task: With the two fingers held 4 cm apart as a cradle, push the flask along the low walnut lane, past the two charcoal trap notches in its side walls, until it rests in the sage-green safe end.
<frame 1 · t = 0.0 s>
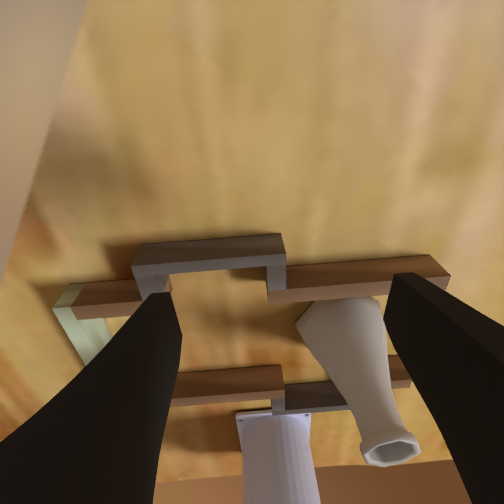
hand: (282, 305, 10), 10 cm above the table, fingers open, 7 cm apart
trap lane: (268, 328, 25), on the table
flask: (338, 319, 25), on the table
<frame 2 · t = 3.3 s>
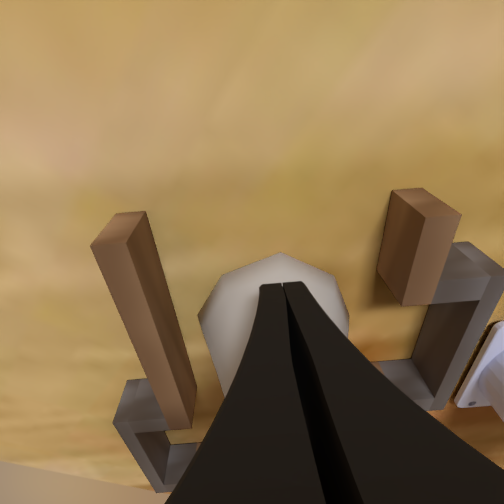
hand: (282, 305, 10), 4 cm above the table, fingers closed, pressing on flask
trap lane: (276, 380, 18), on the table
flask: (273, 308, 15), on the table, touching gripper
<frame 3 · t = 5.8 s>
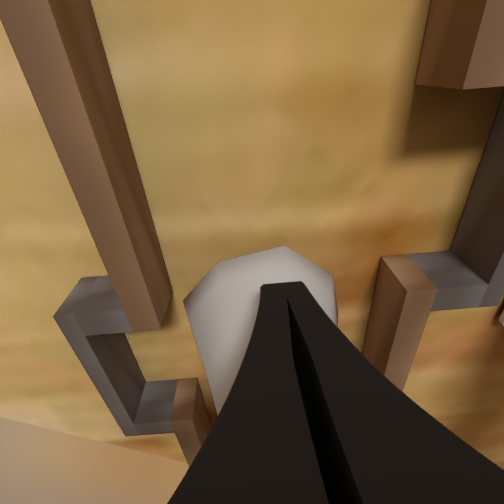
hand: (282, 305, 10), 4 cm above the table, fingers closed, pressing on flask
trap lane: (274, 282, 14), on the table
flask: (263, 300, 15), on the table, touching gripper
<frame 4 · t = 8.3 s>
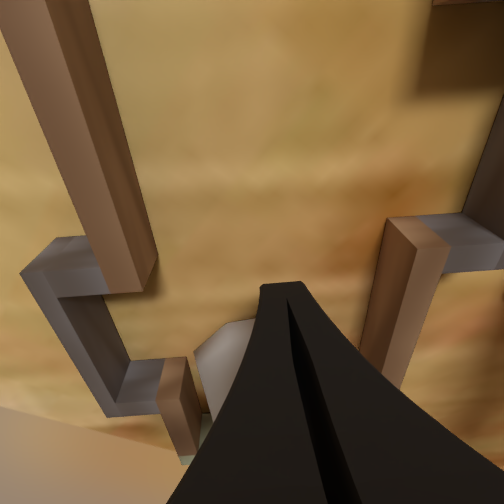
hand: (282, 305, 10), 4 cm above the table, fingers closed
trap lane: (270, 246, 13), on the table
flask: (259, 354, 17), on the table
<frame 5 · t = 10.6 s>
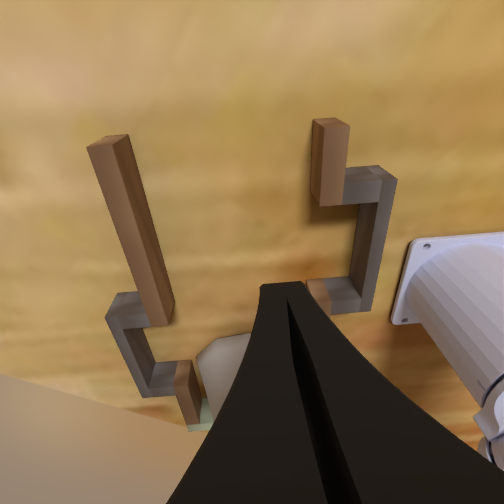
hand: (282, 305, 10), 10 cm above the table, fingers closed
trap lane: (240, 295, 22), on the table
flask: (238, 357, 27), on the table
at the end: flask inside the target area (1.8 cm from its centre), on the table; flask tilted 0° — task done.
